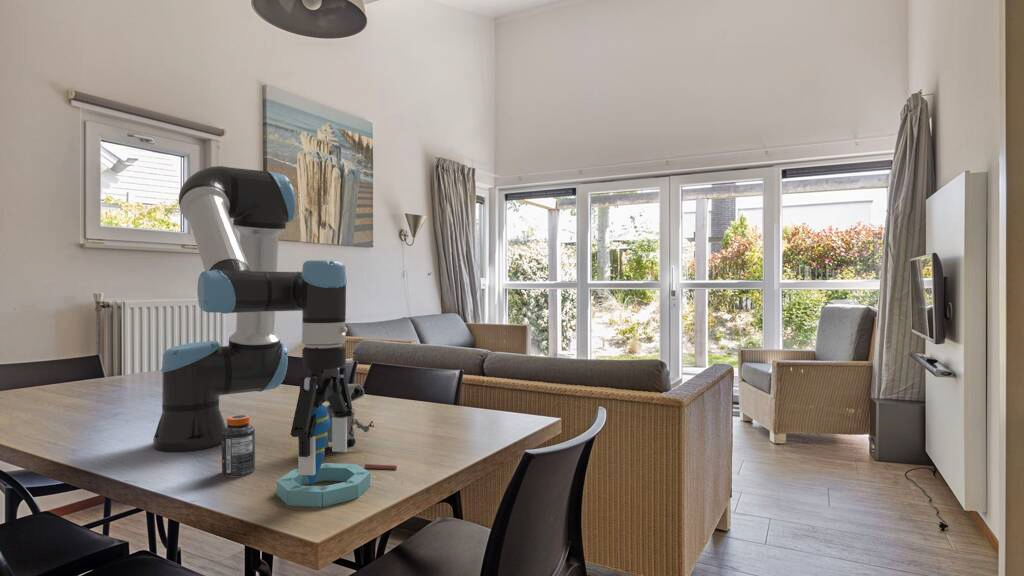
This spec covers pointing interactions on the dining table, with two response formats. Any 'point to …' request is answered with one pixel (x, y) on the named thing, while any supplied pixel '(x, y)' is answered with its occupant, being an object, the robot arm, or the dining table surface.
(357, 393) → the figurine
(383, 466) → the reddish pink rod
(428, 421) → the dining table surface
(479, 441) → the dining table surface
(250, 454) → the pill bottle
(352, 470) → the teal octagonal ring
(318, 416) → the ornament
